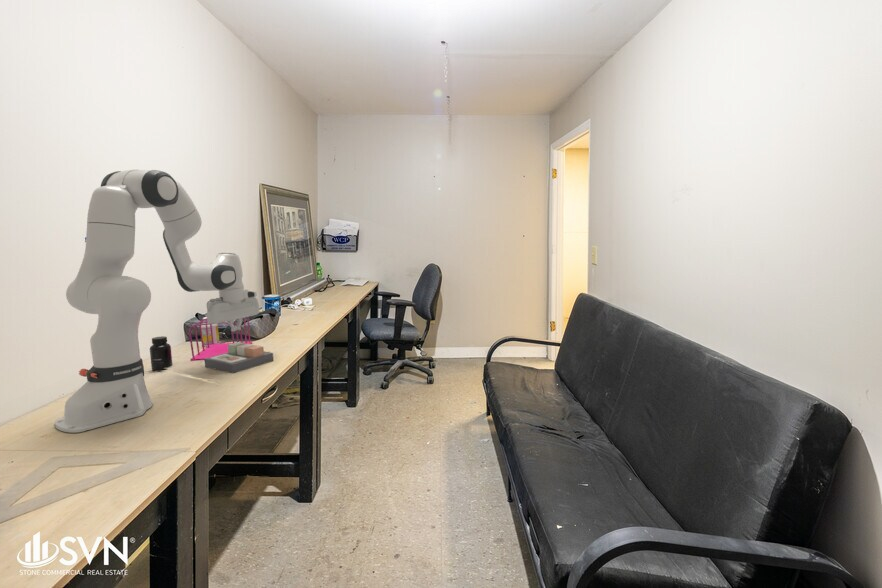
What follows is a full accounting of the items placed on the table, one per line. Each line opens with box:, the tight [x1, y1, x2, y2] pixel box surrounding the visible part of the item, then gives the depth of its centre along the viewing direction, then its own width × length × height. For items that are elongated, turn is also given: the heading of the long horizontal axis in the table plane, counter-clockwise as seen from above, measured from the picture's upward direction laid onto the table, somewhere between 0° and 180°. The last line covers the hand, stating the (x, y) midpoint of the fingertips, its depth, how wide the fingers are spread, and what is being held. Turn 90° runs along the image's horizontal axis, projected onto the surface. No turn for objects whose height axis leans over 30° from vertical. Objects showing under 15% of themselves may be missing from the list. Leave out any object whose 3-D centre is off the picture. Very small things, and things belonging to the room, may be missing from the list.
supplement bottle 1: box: [149, 335, 173, 372], centre depth 174 cm, size 7×7×12 cm
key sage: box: [228, 341, 245, 354], centre depth 180 cm, size 4×4×4 cm
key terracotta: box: [246, 344, 265, 358], centre depth 174 cm, size 4×4×4 cm
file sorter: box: [188, 317, 253, 362], centre depth 194 cm, size 17×25×16 cm
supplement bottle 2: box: [201, 316, 220, 348], centre depth 209 cm, size 7×7×13 cm
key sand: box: [237, 344, 255, 356], centre depth 177 cm, size 4×4×4 cm
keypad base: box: [203, 350, 274, 374], centre depth 175 cm, size 17×17×4 cm
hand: (236, 330), depth 180 cm, fingers closed
